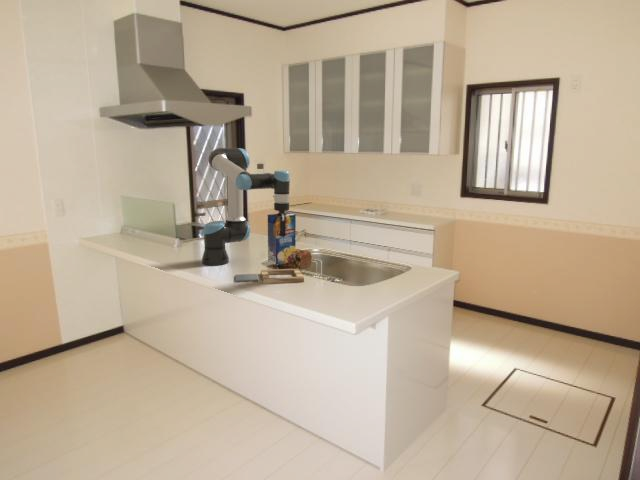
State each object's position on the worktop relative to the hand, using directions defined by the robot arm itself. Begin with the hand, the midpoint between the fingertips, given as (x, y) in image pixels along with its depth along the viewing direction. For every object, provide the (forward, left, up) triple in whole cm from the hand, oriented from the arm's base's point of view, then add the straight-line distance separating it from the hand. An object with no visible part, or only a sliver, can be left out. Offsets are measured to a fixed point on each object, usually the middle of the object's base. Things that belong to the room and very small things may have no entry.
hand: (281, 247), depth 232 cm
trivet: (-1, -18, -16) cm, 24 cm away
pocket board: (0, 0, -16) cm, 16 cm away
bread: (-22, +9, -16) cm, 29 cm away
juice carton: (0, 0, -7) cm, 7 cm away
